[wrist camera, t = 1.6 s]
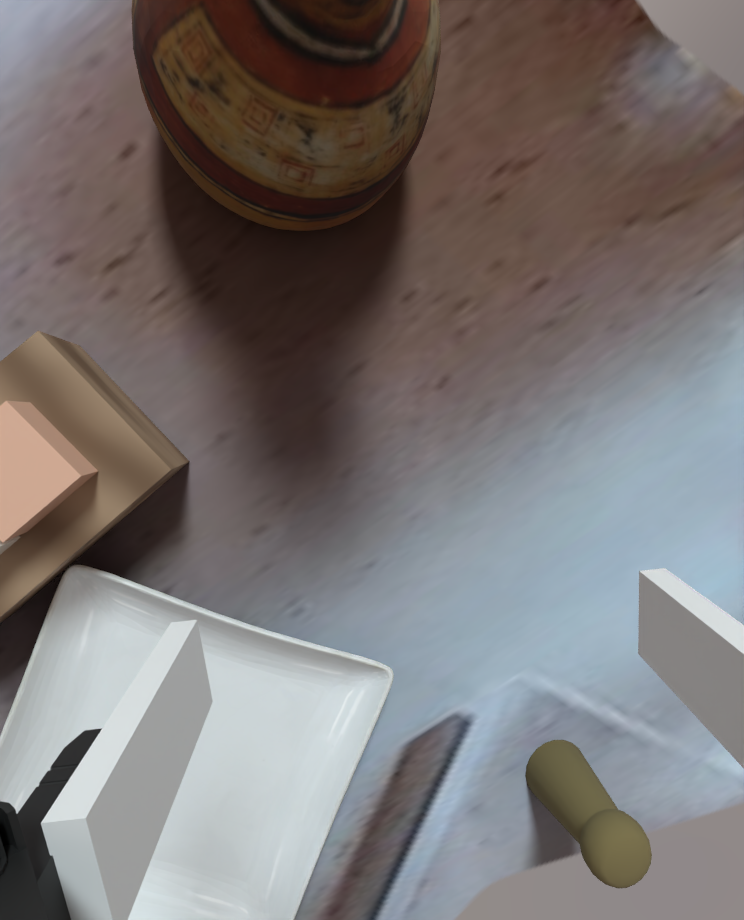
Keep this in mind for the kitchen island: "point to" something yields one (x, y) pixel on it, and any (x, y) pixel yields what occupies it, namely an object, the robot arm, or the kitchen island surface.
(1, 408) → the terracotta tile
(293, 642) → the square plate
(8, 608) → the brushed bronze panel
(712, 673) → the robot arm
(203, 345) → the kitchen island surface
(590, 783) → the cork
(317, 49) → the ceramic pitcher
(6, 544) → the cream tile
